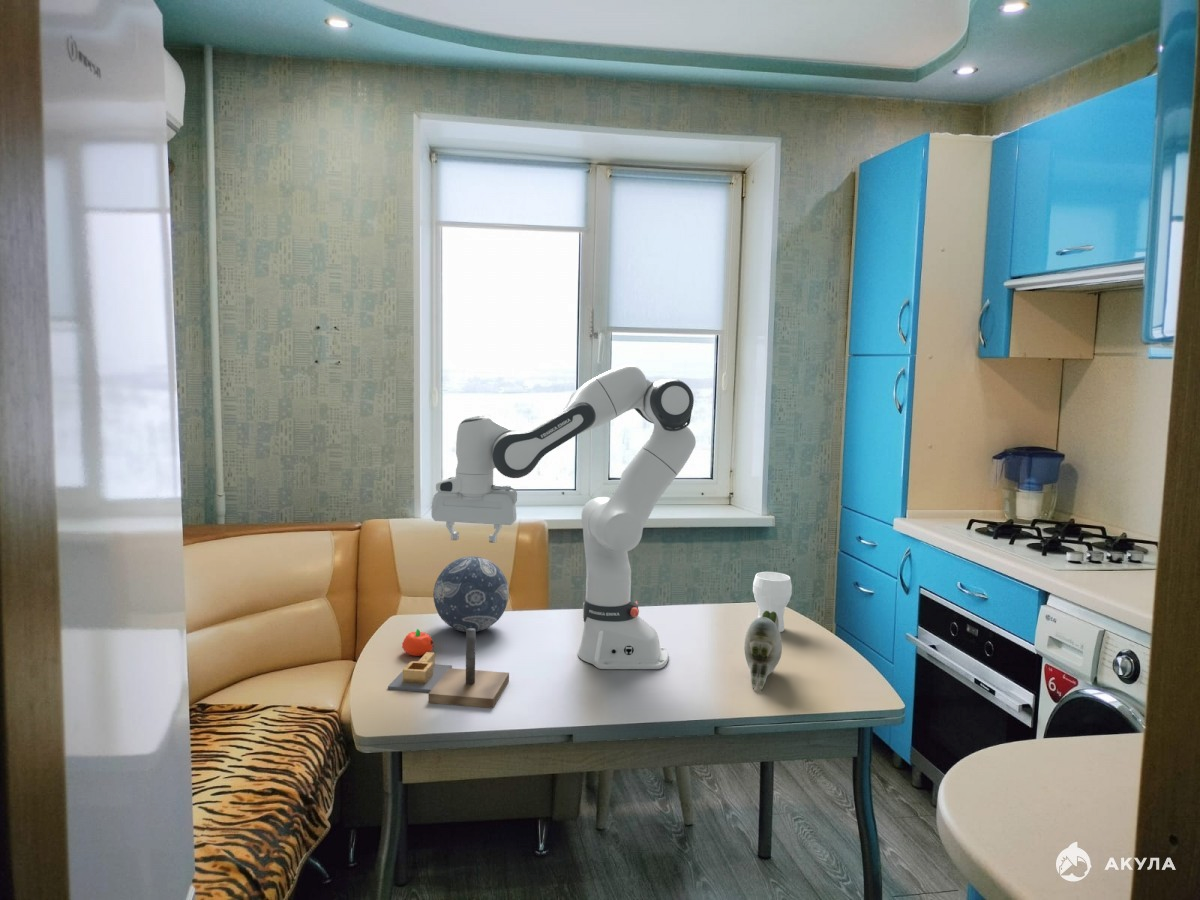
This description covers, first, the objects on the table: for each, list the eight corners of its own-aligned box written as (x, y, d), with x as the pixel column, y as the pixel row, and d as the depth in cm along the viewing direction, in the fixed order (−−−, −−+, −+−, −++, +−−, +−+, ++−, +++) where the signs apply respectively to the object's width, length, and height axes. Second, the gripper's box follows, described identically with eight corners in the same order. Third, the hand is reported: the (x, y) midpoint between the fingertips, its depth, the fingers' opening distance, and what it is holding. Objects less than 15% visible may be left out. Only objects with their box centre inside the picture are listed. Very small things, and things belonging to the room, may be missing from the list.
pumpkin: (421, 646, 195) (421, 621, 194) (438, 655, 189) (439, 629, 189) (396, 652, 190) (396, 627, 189) (413, 662, 184) (413, 636, 184)
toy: (776, 695, 172) (785, 660, 191) (779, 629, 170) (788, 601, 189) (738, 689, 175) (750, 655, 194) (740, 624, 173) (753, 597, 192)
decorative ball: (516, 621, 216) (517, 551, 214) (496, 646, 196) (497, 569, 194) (448, 615, 219) (448, 546, 217) (421, 640, 199) (422, 564, 197)
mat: (451, 667, 182) (451, 665, 181) (431, 692, 168) (431, 689, 168) (411, 664, 183) (411, 662, 183) (387, 688, 169) (387, 686, 169)
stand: (508, 681, 175) (509, 621, 173) (493, 708, 161) (494, 643, 160) (449, 676, 176) (449, 617, 175) (428, 702, 163) (428, 638, 161)
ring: (441, 665, 181) (441, 653, 181) (425, 684, 170) (425, 671, 170) (420, 663, 182) (420, 651, 182) (402, 682, 171) (402, 669, 171)
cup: (793, 635, 211) (796, 582, 209) (754, 634, 211) (757, 580, 209) (784, 622, 221) (787, 571, 219) (747, 621, 221) (750, 570, 220)
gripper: (520, 484, 185) (519, 540, 187) (438, 480, 188) (437, 535, 189) (514, 488, 179) (513, 546, 181) (429, 484, 182) (428, 541, 183)
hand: (473, 541), depth 185 cm, fingers open, 8 cm apart
